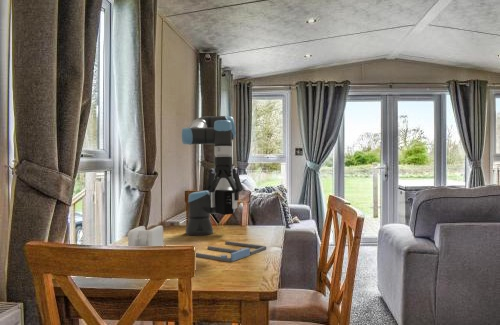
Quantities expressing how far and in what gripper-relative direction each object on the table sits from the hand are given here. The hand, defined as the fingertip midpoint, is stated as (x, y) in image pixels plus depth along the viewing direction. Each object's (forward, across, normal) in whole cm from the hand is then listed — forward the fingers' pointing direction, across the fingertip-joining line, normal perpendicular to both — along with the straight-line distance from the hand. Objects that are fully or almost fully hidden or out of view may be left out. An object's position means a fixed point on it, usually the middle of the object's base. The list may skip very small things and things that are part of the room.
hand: (224, 207), depth 166 cm
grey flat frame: (+19, 0, +3) cm, 20 cm away
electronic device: (+3, 0, 0) cm, 3 cm away
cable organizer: (+20, -28, -19) cm, 39 cm away
